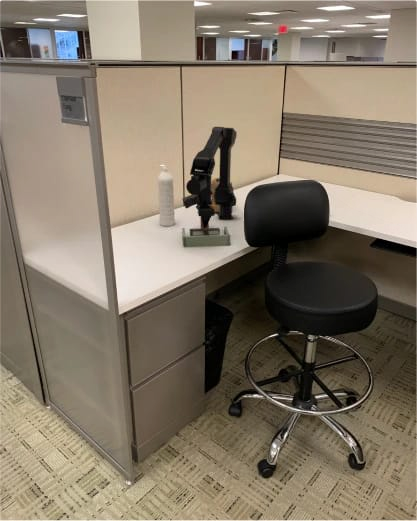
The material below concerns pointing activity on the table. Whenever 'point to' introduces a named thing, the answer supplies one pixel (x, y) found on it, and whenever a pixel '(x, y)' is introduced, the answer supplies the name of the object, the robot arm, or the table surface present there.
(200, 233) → the stone block
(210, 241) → the bin
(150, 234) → the table surface
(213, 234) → the stone block
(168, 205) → the white pump bottle
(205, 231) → the hoe
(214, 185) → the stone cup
